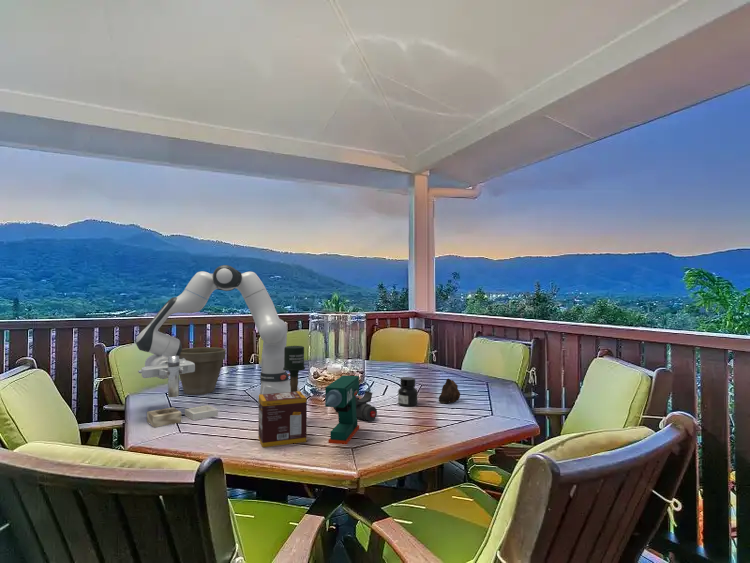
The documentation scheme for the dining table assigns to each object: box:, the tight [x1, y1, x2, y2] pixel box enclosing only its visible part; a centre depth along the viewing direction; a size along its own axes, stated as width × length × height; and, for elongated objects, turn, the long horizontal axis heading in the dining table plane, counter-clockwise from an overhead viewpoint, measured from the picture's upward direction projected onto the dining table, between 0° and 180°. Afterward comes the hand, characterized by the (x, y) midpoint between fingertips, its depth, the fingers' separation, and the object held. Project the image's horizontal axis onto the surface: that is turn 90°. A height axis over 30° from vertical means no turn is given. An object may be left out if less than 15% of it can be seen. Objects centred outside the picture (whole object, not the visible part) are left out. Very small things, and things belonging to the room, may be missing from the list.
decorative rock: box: [438, 378, 461, 404], centre depth 209 cm, size 12×6×11 cm, turn 131°
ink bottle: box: [397, 376, 418, 407], centre depth 204 cm, size 10×9×12 cm
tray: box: [184, 404, 219, 421], centre depth 185 cm, size 10×10×3 cm
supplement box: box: [257, 390, 308, 448], centre depth 155 cm, size 10×15×16 cm
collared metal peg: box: [167, 356, 180, 398], centre depth 178 cm, size 4×4×16 cm
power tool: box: [324, 374, 360, 445], centre depth 154 cm, size 32×7×20 cm, turn 168°
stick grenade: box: [283, 345, 306, 392], centre depth 176 cm, size 8×9×30 cm
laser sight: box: [332, 390, 378, 422], centre depth 185 cm, size 10×22×10 cm, turn 44°
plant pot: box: [179, 346, 227, 395], centre depth 228 cm, size 25×25×22 cm
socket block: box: [146, 406, 182, 428], centre depth 176 cm, size 10×10×4 cm
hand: (174, 372), depth 177 cm, fingers closed on collared metal peg, 4 cm apart
